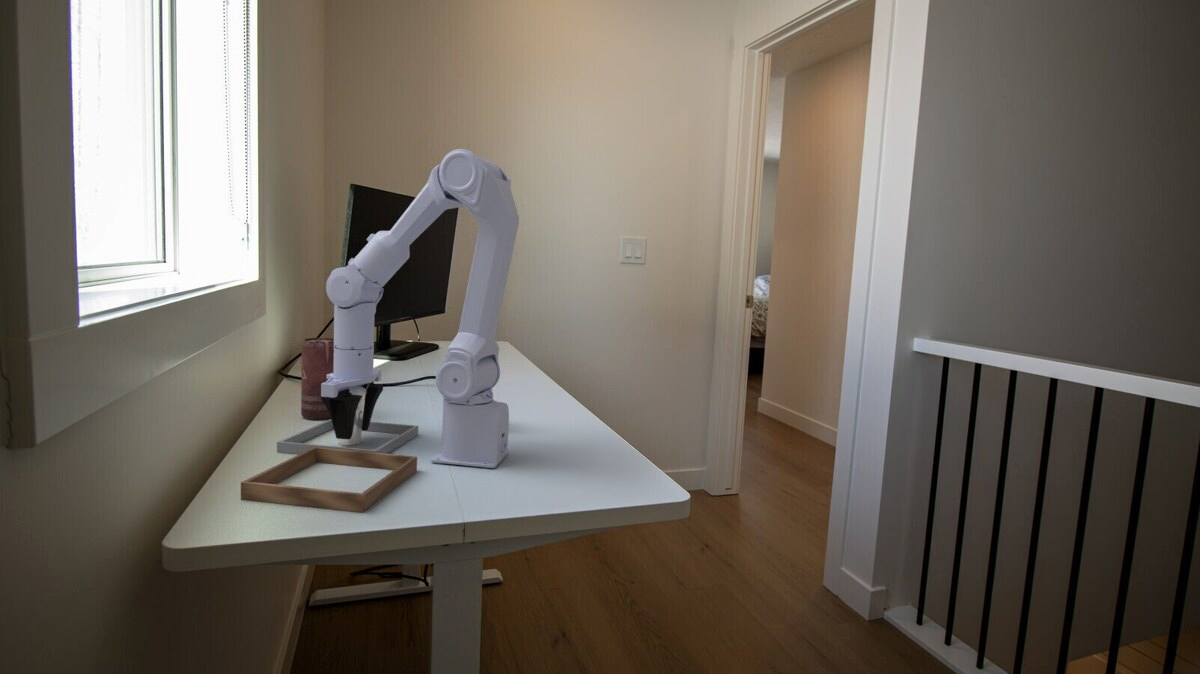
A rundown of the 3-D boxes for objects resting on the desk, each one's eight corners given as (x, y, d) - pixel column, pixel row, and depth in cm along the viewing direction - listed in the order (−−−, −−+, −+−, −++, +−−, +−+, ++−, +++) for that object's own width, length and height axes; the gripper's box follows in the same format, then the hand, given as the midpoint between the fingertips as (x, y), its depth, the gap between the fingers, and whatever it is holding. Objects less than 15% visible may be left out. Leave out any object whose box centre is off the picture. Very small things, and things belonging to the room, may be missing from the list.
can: (313, 422, 106) (314, 342, 104) (294, 415, 109) (295, 338, 108) (346, 417, 110) (347, 340, 109) (327, 410, 114) (328, 336, 113)
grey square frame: (418, 434, 102) (418, 425, 102) (375, 461, 88) (375, 451, 87) (332, 426, 104) (333, 418, 104) (276, 452, 89) (276, 442, 89)
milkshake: (363, 448, 93) (365, 383, 92) (328, 445, 93) (329, 381, 92) (375, 439, 98) (376, 378, 97) (341, 437, 98) (342, 376, 97)
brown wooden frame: (416, 470, 85) (417, 456, 85) (363, 512, 70) (363, 495, 70) (314, 460, 86) (314, 446, 86) (240, 499, 72) (240, 482, 71)
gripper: (353, 340, 102) (352, 420, 103) (301, 351, 87) (300, 444, 89) (394, 343, 101) (392, 424, 102) (348, 355, 87) (346, 448, 88)
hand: (352, 434), depth 96 cm, fingers open, 5 cm apart
